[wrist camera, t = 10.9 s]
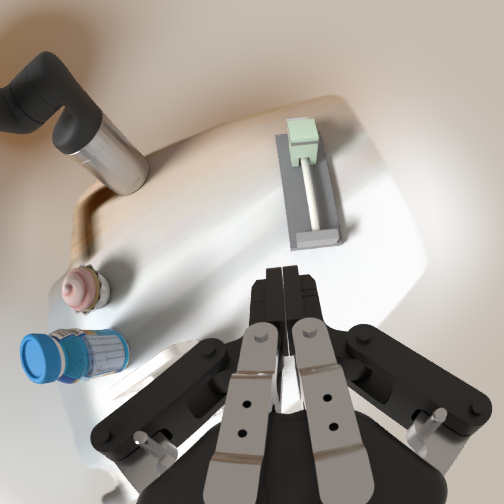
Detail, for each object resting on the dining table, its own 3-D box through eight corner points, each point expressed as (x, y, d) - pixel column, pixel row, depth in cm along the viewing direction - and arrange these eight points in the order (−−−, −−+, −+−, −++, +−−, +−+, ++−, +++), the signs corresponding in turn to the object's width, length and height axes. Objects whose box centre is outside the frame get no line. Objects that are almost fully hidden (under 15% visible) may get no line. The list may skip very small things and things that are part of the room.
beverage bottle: (140, 355, 44) (59, 368, 25) (114, 381, 44) (36, 401, 24) (113, 318, 46) (30, 313, 27) (89, 346, 46) (10, 350, 26)
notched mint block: (316, 164, 45) (319, 137, 37) (291, 167, 46) (290, 140, 38) (312, 146, 46) (314, 118, 38) (288, 149, 46) (287, 120, 39)
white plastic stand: (204, 334, 44) (175, 339, 32) (243, 387, 41) (227, 409, 30) (140, 379, 43) (101, 392, 32) (175, 428, 40) (144, 453, 29)
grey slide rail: (340, 245, 43) (347, 235, 38) (290, 250, 44) (290, 241, 39) (318, 135, 48) (320, 115, 43) (275, 139, 49) (273, 120, 44)
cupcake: (96, 326, 46) (60, 325, 37) (75, 288, 49) (41, 281, 39) (126, 296, 47) (91, 290, 37) (103, 258, 49) (69, 246, 40)
